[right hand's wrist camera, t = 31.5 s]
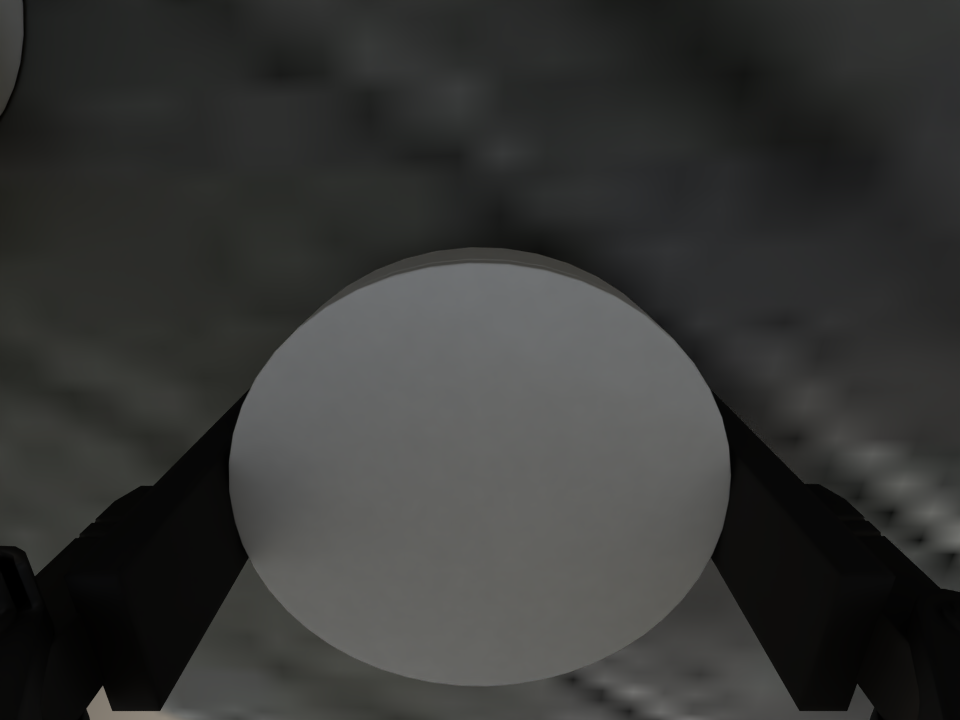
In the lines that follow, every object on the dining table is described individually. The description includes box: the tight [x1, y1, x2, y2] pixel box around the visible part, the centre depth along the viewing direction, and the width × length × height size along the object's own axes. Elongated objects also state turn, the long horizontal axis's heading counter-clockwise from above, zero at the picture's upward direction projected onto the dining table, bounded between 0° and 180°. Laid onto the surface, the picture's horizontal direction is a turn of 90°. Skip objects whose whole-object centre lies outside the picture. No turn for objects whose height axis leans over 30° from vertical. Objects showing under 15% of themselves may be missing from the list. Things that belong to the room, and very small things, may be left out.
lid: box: [229, 247, 731, 686], centre depth 12 cm, size 10×10×2 cm
